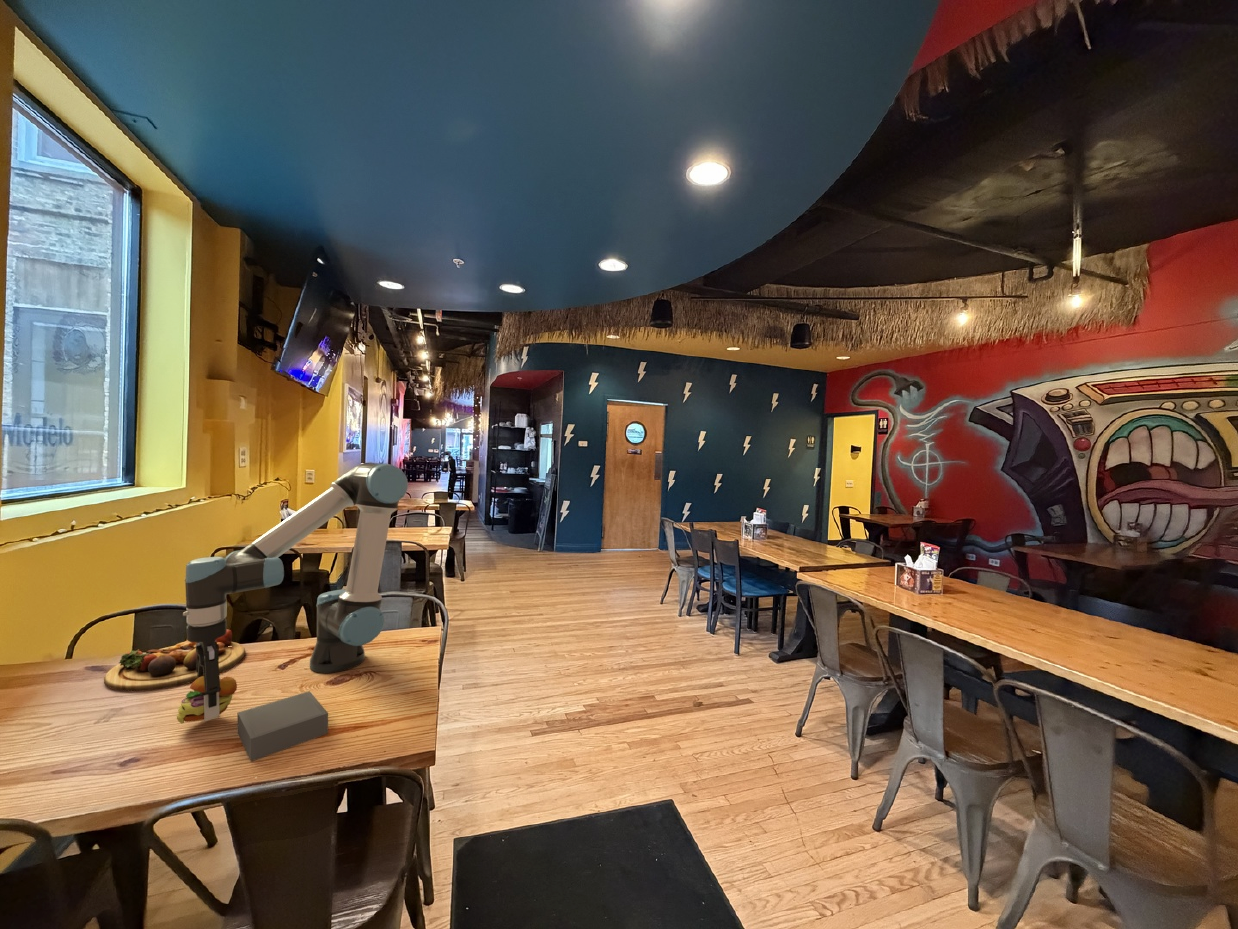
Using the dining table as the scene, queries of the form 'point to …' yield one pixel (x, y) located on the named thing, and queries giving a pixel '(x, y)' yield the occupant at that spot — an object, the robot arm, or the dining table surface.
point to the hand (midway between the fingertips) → (208, 710)
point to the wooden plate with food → (167, 665)
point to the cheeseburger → (195, 702)
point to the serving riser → (281, 725)
